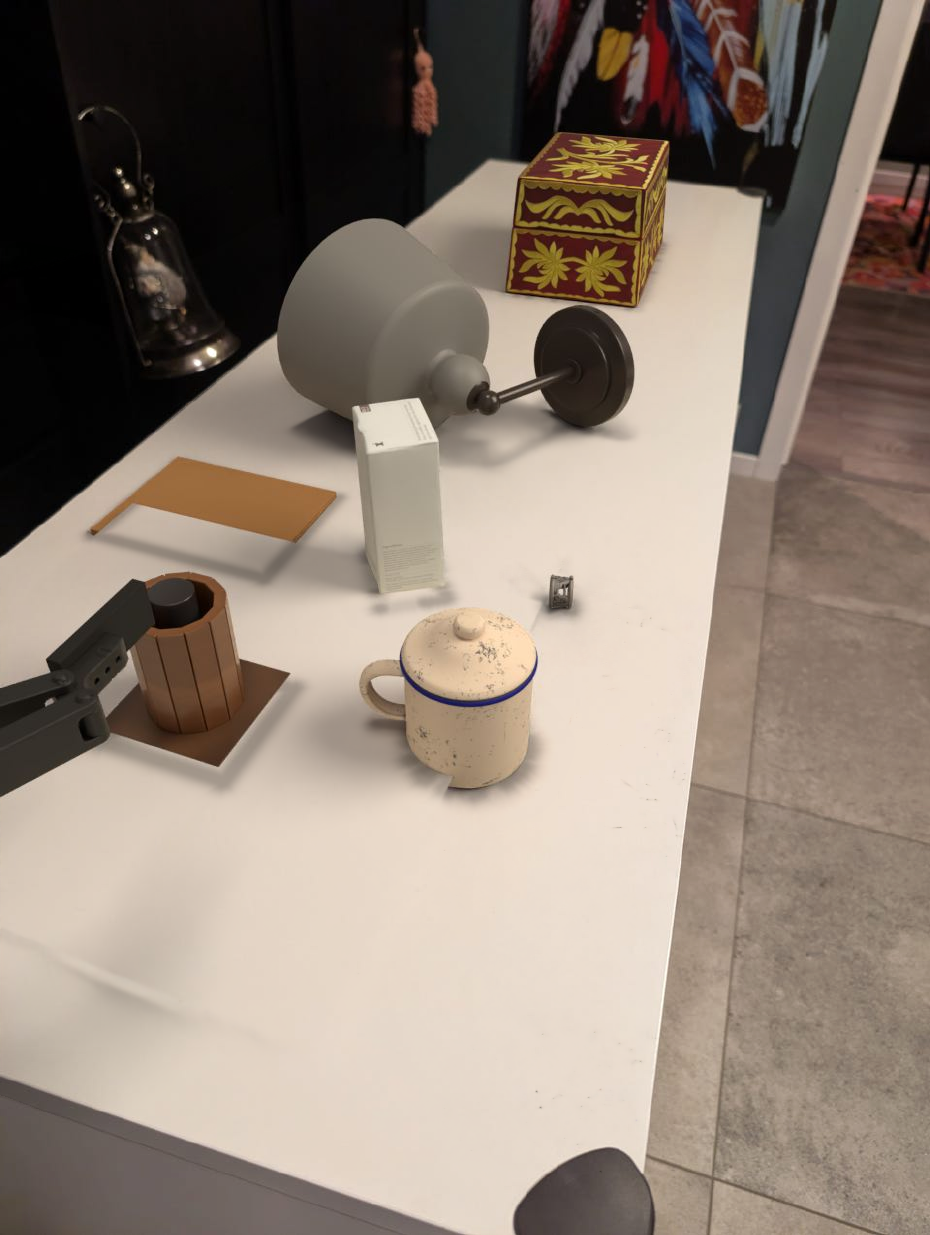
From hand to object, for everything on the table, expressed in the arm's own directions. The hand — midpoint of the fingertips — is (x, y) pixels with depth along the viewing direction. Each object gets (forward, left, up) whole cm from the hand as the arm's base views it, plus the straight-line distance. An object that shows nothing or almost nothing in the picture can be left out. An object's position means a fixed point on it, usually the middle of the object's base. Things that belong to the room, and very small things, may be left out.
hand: (36, 571), depth 51 cm
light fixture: (+2, +56, -20) cm, 59 cm away
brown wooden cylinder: (0, +10, -18) cm, 21 cm away
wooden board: (-13, +33, -20) cm, 40 cm away
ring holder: (0, +10, -20) cm, 22 cm away
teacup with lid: (+18, +14, -20) cm, 30 cm away
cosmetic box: (+7, +31, -20) cm, 37 cm away
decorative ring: (+21, +32, -20) cm, 43 cm away
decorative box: (+2, +110, -20) cm, 111 cm away
